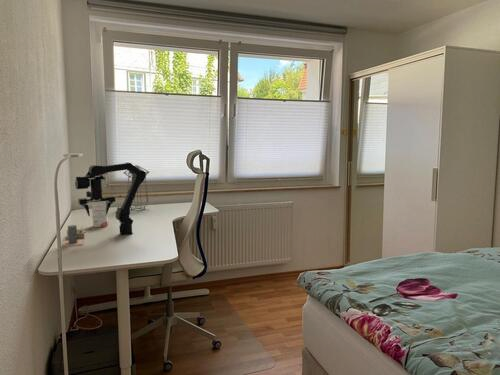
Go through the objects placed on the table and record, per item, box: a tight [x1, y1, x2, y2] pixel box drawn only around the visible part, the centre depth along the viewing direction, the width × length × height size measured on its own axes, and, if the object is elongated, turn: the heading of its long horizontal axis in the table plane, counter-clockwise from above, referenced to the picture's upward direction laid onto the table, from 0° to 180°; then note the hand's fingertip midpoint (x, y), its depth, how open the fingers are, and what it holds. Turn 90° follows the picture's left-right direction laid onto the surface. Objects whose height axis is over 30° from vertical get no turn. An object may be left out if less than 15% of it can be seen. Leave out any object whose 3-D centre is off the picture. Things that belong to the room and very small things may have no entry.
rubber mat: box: [61, 238, 85, 248], centre depth 199 cm, size 10×10×1 cm
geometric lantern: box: [123, 165, 150, 212], centre depth 289 cm, size 16×16×35 cm
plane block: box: [67, 226, 85, 241], centre depth 212 cm, size 8×11×4 cm
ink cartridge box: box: [91, 203, 109, 228], centre depth 237 cm, size 9×5×15 cm, turn 105°
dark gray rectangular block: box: [66, 224, 78, 244], centre depth 198 cm, size 5×4×9 cm
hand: (97, 215), depth 208 cm, fingers open, 9 cm apart
